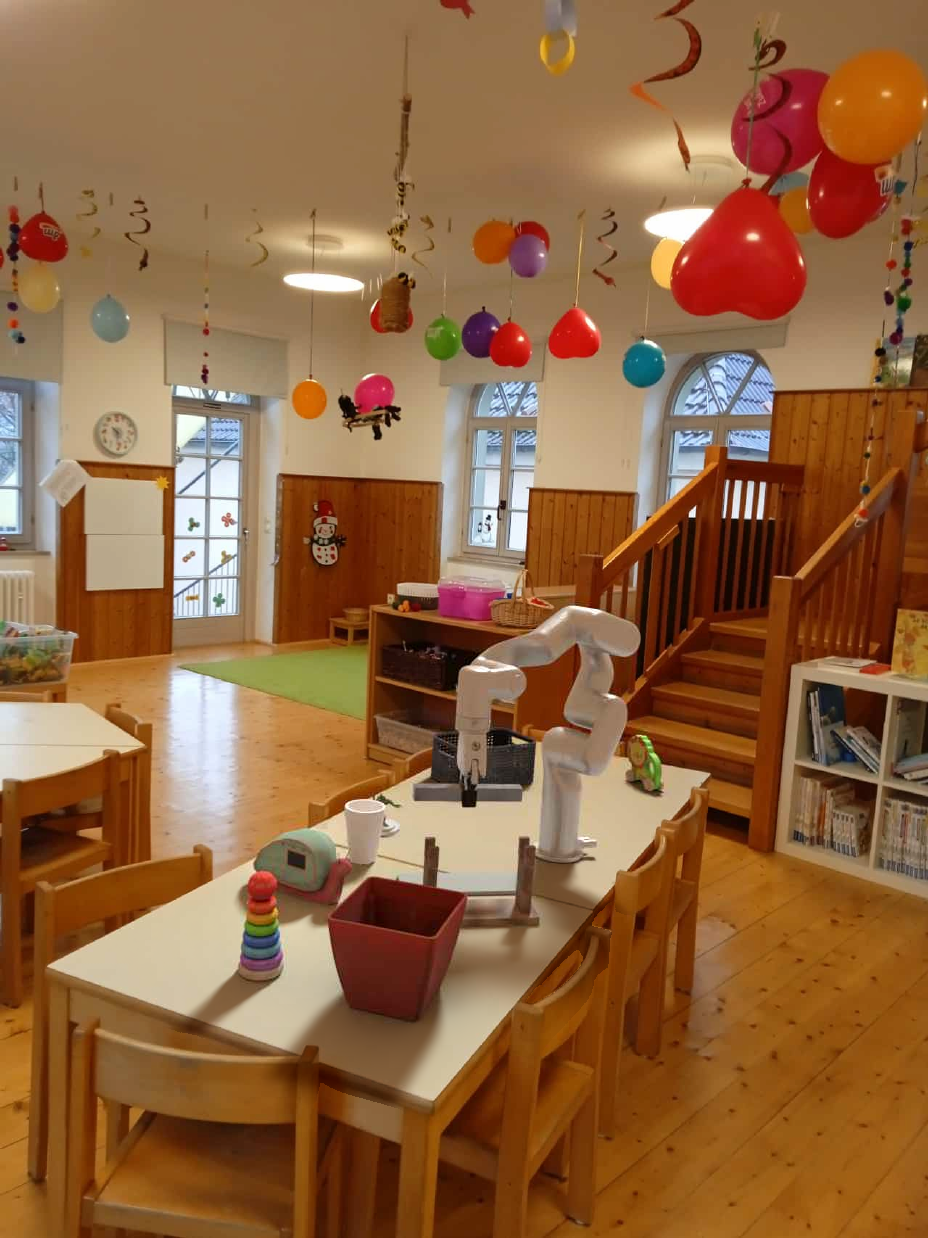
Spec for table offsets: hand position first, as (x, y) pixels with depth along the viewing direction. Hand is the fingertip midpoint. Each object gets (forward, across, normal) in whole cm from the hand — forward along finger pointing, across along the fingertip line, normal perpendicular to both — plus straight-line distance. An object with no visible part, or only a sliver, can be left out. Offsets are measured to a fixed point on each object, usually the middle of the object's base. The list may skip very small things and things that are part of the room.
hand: (467, 803), depth 207 cm
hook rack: (+19, -15, 0) cm, 24 cm away
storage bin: (+19, +76, -20) cm, 81 cm away
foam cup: (+19, +16, +21) cm, 32 cm away
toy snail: (+20, -2, +35) cm, 40 cm away
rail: (-1, 0, 0) cm, 1 cm away
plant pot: (+20, -44, +20) cm, 52 cm away
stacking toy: (+20, -34, +43) cm, 58 cm away
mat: (+19, 0, 0) cm, 19 cm away
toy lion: (+19, +72, -70) cm, 102 cm away
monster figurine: (+19, +36, +16) cm, 44 cm away
